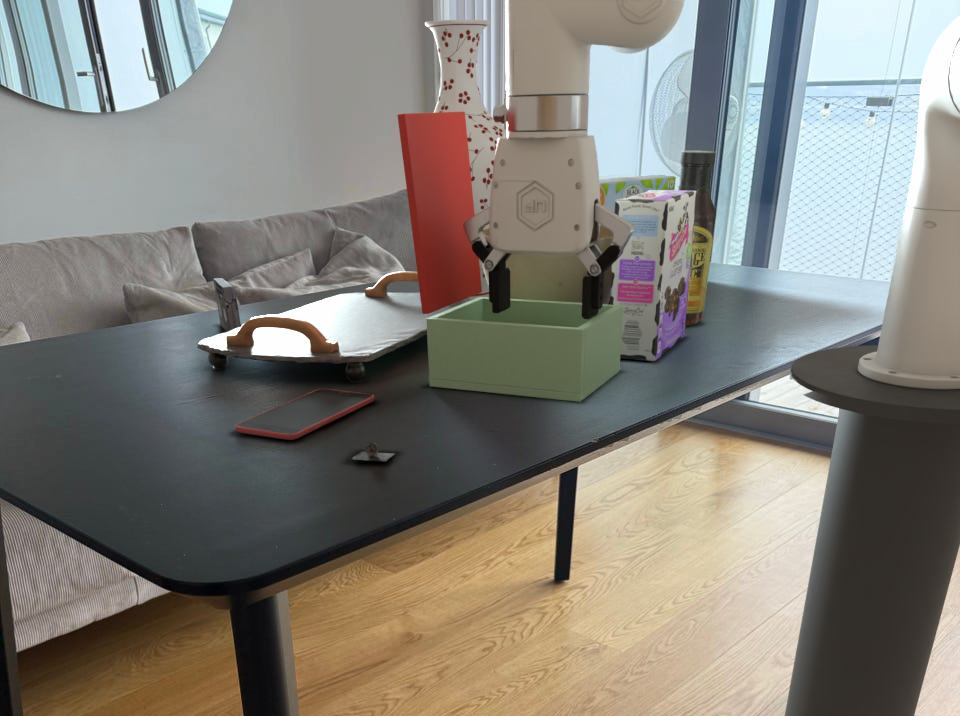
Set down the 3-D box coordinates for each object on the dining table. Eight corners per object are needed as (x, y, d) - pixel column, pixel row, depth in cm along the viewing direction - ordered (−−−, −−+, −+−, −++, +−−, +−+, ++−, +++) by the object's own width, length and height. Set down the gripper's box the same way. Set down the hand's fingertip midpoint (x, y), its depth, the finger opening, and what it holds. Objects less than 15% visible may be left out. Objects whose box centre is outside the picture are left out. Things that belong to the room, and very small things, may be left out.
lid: (465, 111, 92) (458, 112, 92) (404, 113, 82) (396, 114, 83) (482, 292, 100) (475, 292, 101) (429, 313, 90) (422, 314, 91)
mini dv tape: (242, 335, 118) (234, 286, 115) (230, 336, 118) (222, 287, 115) (231, 323, 125) (224, 277, 122) (220, 324, 125) (213, 278, 121)
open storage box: (619, 371, 98) (623, 305, 94) (580, 402, 88) (582, 329, 85) (480, 359, 104) (479, 296, 101) (429, 386, 94) (426, 318, 91)
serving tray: (354, 310, 131) (350, 264, 128) (502, 319, 123) (501, 270, 120) (178, 375, 101) (167, 317, 98) (359, 392, 93) (353, 329, 90)
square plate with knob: (361, 452, 77) (361, 437, 76) (395, 454, 76) (395, 439, 76) (350, 460, 74) (349, 445, 74) (385, 462, 74) (384, 447, 73)
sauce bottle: (650, 326, 117) (662, 152, 107) (658, 317, 122) (670, 149, 112) (702, 328, 115) (719, 151, 105) (707, 319, 120) (724, 149, 110)
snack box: (584, 291, 140) (588, 182, 132) (558, 287, 144) (560, 181, 136) (669, 274, 152) (677, 173, 145) (643, 271, 156) (649, 172, 148)
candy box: (656, 363, 101) (667, 198, 92) (605, 359, 103) (612, 198, 94) (686, 337, 111) (699, 187, 103) (639, 334, 113) (648, 187, 105)
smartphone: (378, 394, 89) (293, 435, 79) (379, 400, 90) (294, 441, 79) (319, 387, 92) (230, 426, 81) (320, 393, 92) (231, 432, 82)
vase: (522, 286, 146) (522, 23, 128) (511, 304, 132) (509, 14, 114) (424, 286, 148) (410, 28, 130) (403, 304, 134) (385, 19, 116)
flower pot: (579, 359, 103) (583, 243, 97) (451, 341, 112) (447, 235, 106) (649, 329, 116) (656, 225, 109) (529, 316, 125) (530, 219, 119)
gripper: (444, 122, 84) (452, 315, 92) (625, 118, 77) (615, 326, 86) (479, 120, 89) (483, 302, 98) (650, 116, 83) (638, 311, 92)
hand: (544, 313), depth 92 cm, fingers open, 9 cm apart
